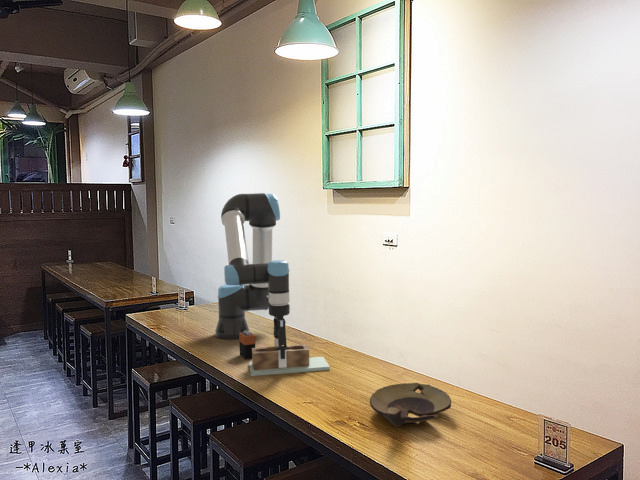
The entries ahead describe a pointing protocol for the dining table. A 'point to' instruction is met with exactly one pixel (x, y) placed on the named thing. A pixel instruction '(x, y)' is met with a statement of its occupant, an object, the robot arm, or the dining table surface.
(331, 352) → the dining table surface
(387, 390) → the broken dish
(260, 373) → the board
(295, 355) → the divided compartment tray
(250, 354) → the battery
